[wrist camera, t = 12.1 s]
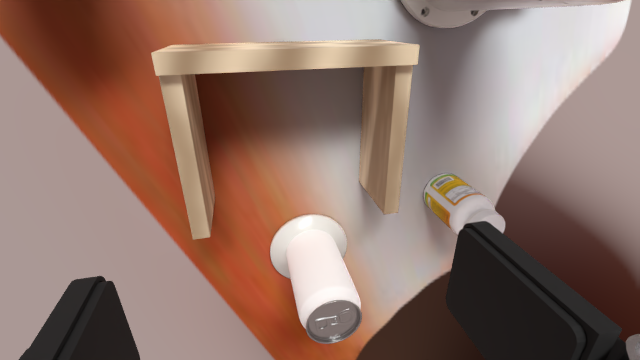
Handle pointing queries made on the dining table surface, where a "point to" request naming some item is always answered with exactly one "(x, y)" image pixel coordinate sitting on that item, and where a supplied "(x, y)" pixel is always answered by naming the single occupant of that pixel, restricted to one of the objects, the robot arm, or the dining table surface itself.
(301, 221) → the coaster
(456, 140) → the dining table surface
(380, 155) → the wooden arch stand
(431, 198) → the supplement bottle
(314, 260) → the can
